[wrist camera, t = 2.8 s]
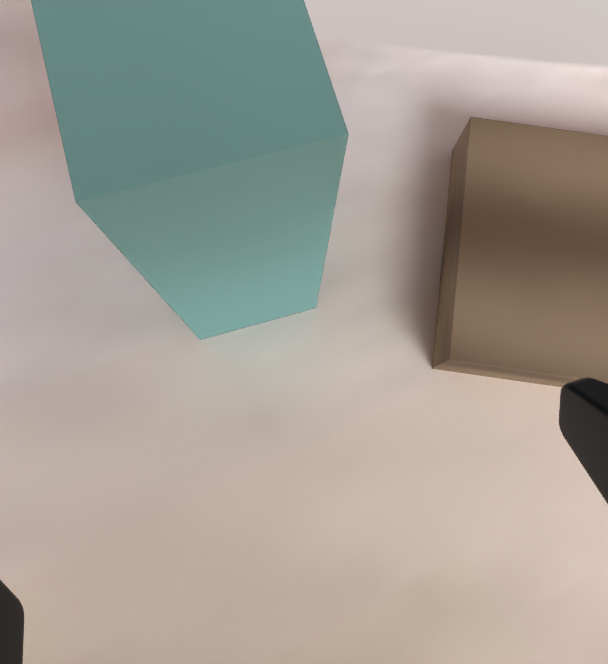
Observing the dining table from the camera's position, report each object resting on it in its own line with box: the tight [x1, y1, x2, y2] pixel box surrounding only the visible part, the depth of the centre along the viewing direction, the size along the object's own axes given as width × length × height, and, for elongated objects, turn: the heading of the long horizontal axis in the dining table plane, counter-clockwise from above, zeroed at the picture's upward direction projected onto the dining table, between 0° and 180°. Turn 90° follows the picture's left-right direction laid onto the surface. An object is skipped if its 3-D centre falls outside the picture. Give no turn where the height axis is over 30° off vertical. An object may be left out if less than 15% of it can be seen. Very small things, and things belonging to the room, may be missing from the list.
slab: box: [432, 117, 608, 387], centre depth 22 cm, size 10×10×3 cm
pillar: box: [31, 0, 348, 340], centre depth 16 cm, size 5×5×13 cm
